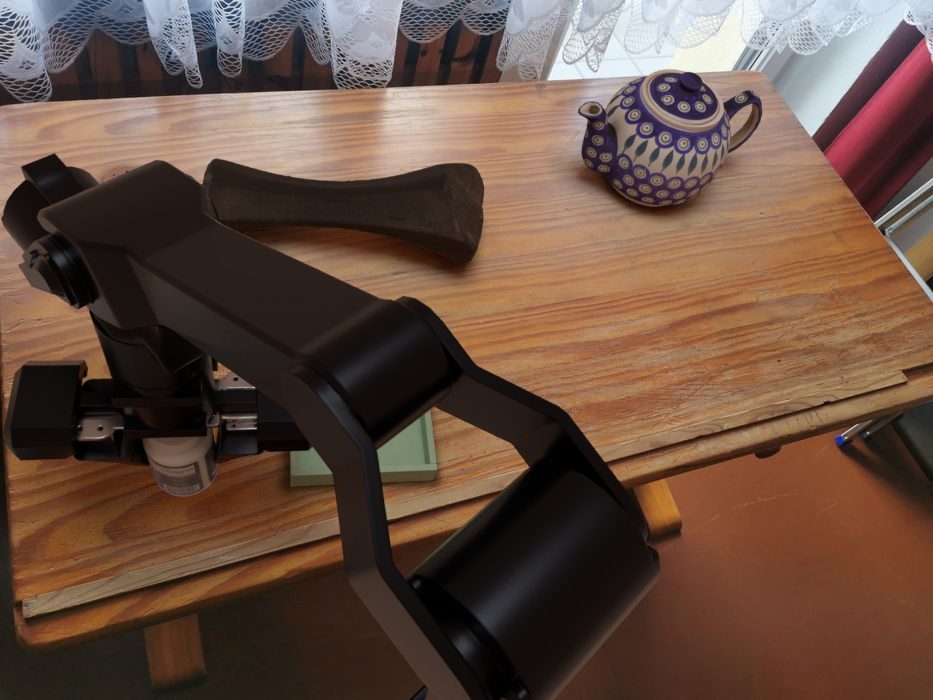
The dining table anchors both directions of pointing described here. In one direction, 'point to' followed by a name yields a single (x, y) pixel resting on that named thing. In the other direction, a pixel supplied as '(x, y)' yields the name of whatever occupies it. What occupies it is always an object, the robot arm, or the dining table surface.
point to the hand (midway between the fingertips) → (184, 459)
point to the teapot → (664, 136)
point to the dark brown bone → (358, 204)
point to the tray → (379, 458)
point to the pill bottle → (182, 463)
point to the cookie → (116, 172)
